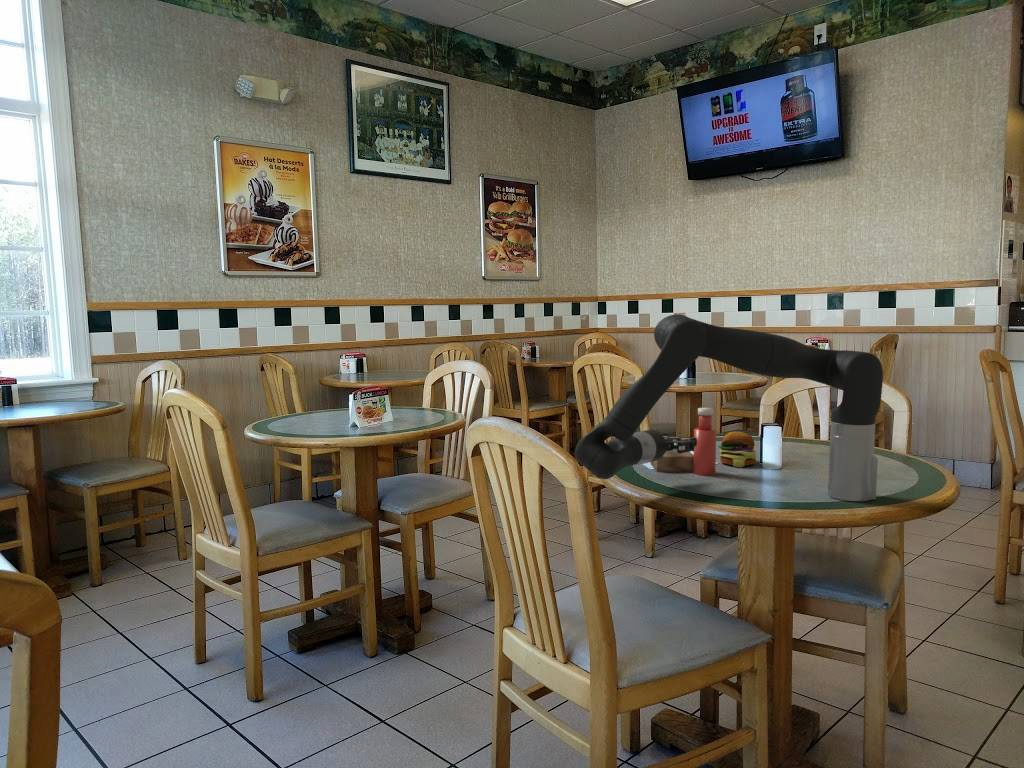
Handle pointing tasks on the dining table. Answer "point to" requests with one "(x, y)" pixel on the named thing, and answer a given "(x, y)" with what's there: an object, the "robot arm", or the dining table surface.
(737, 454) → the cheeseburger
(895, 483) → the dining table surface
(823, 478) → the dining table surface
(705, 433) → the ketchup bottle
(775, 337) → the robot arm
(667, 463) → the walnut block
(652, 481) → the dining table surface
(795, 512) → the dining table surface
